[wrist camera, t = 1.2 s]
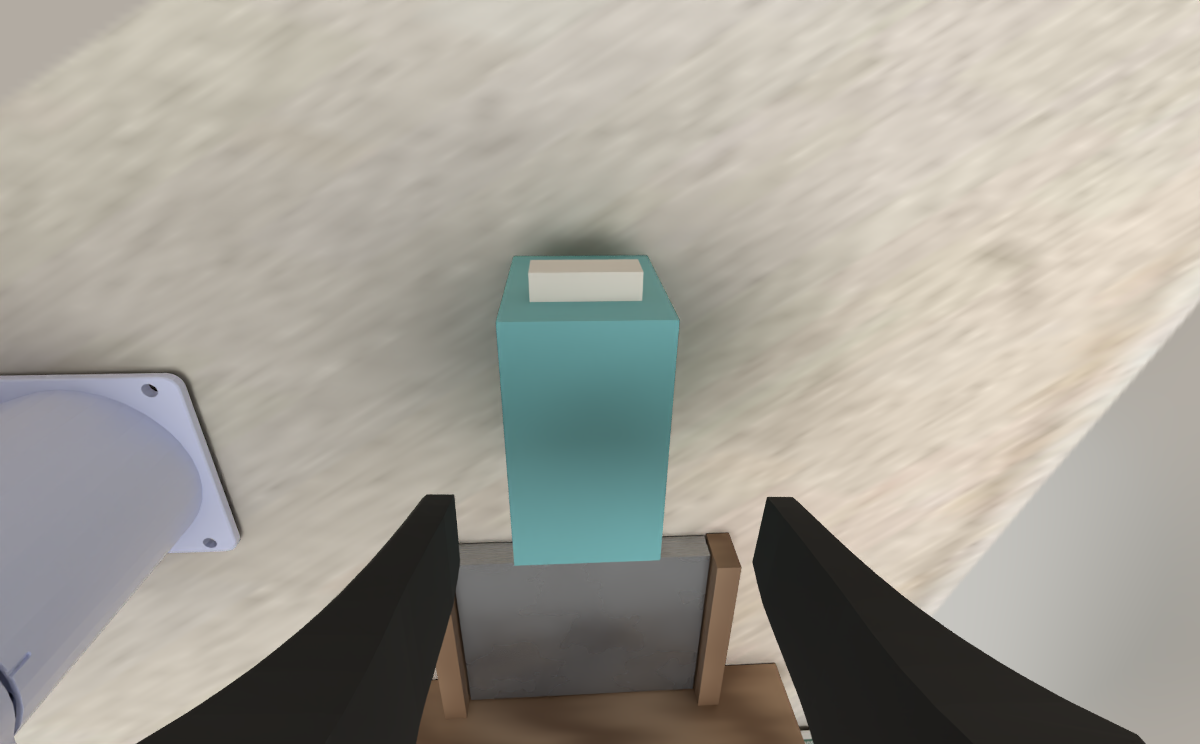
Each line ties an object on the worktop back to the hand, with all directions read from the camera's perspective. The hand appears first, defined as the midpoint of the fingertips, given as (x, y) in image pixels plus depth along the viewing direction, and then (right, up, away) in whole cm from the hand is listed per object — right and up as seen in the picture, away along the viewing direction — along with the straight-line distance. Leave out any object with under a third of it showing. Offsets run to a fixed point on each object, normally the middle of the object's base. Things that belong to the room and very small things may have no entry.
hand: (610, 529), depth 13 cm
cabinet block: (-1, +4, +8) cm, 9 cm away
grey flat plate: (-1, -8, +14) cm, 16 cm away
